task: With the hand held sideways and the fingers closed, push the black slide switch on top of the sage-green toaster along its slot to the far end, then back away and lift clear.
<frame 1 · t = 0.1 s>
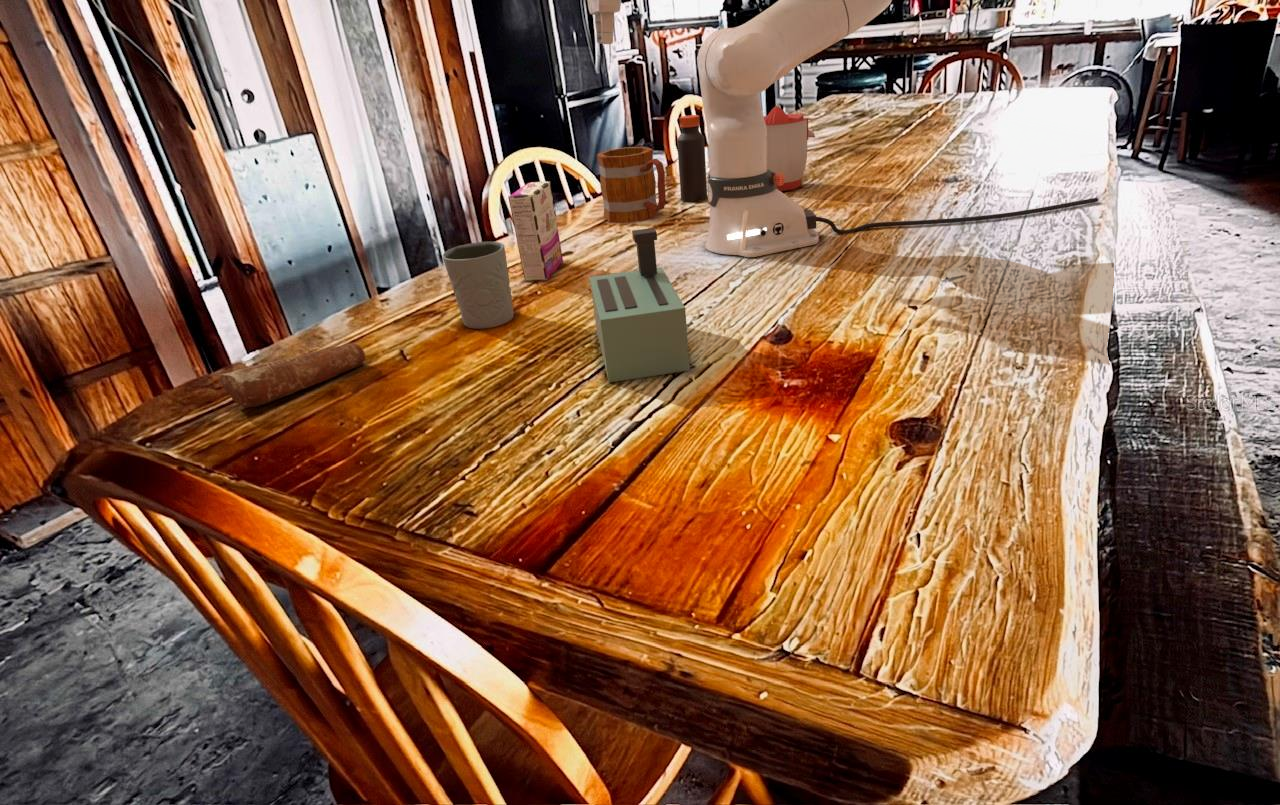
hand: (604, 43, 122), 39 cm above the table, tool pointing down, fingers open, 8 cm apart
candy bar box: (544, 273, 139), on the table
gray embossed cup: (488, 319, 119), on the table
bottle: (694, 199, 182), on the table
bread: (303, 387, 102), on the table
toaster: (640, 350, 102), on the table
slide switch: (646, 252, 101), point 12 cm above the table, slide at 0.0 cm
mug: (639, 217, 171), on the table
citrus juicer: (780, 188, 184), on the table
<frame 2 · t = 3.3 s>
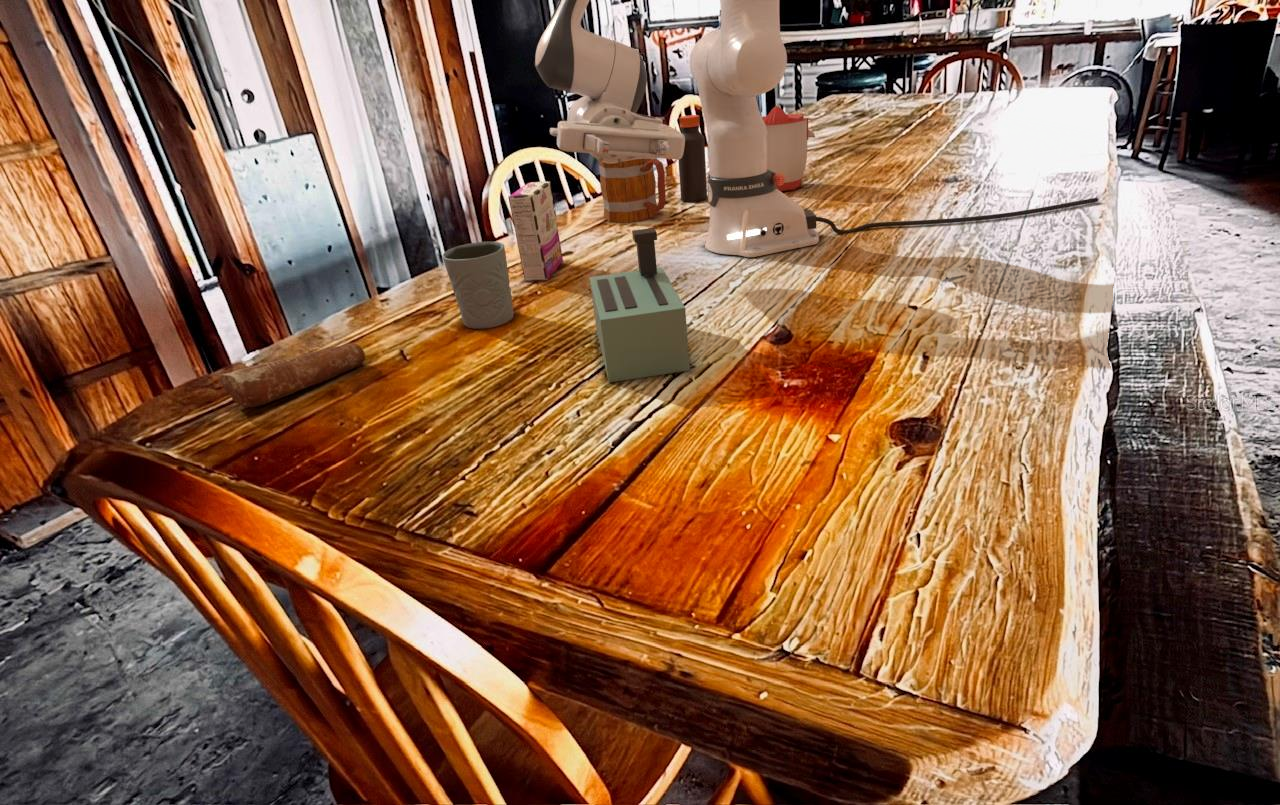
hand: (634, 149, 104), 25 cm above the table, tool horizontal, fingers open, 8 cm apart
nothing on the table moved.
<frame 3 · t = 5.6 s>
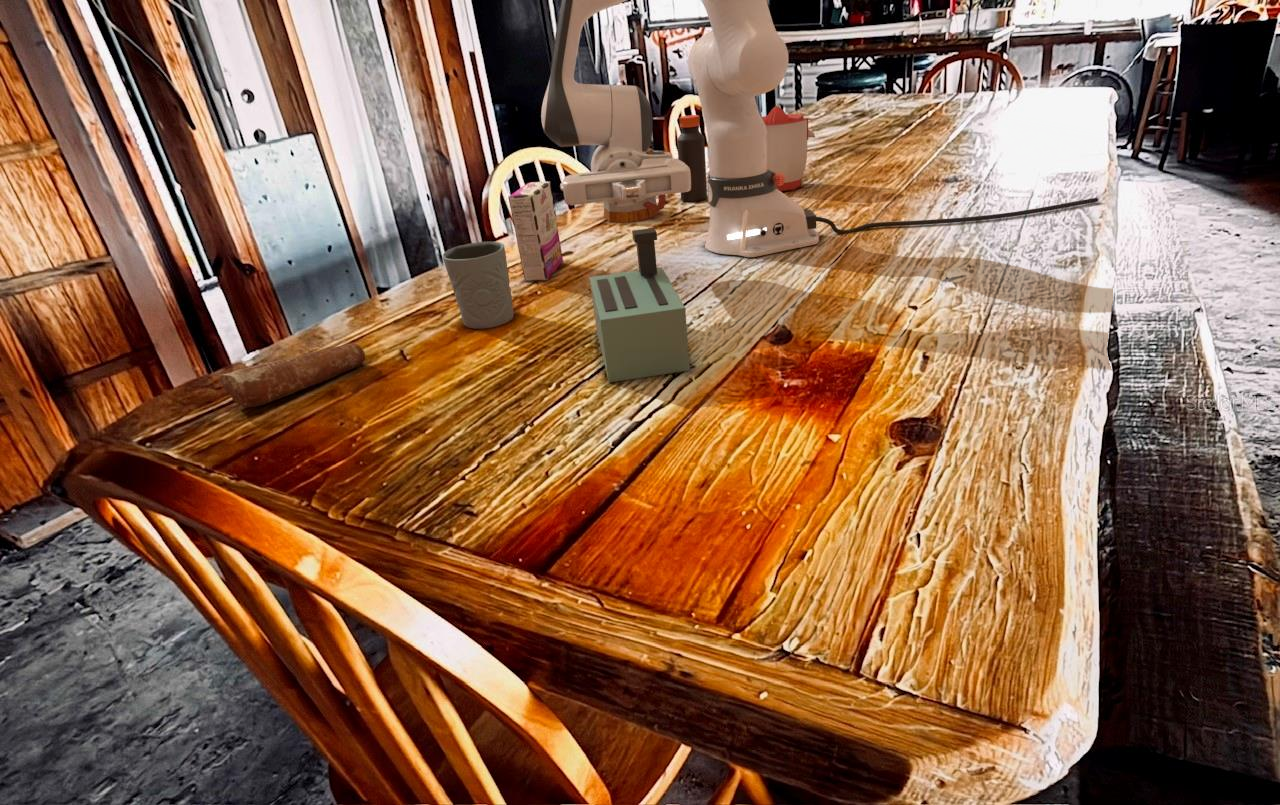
hand: (632, 193, 105), 19 cm above the table, tool horizontal, fingers closed
nothing on the table moved.
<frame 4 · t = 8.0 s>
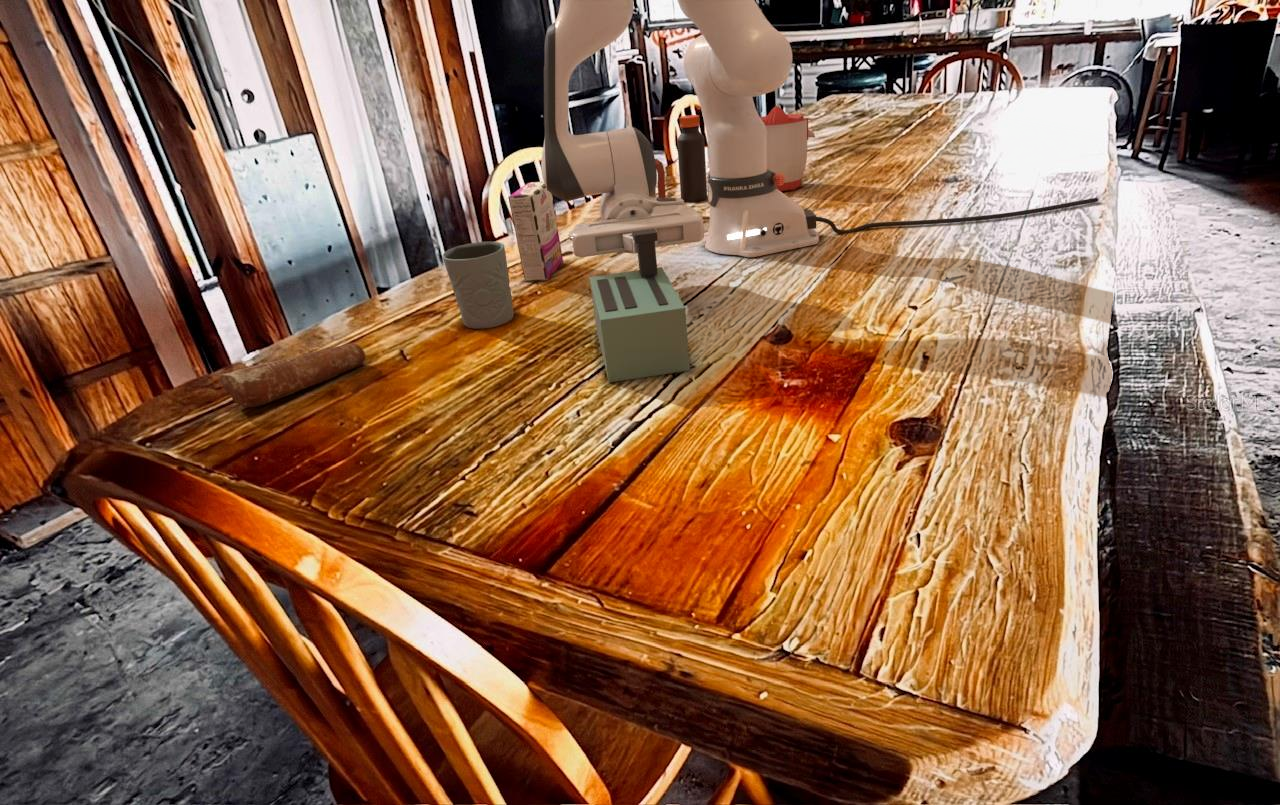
hand: (644, 246, 102), 13 cm above the table, tool horizontal, fingers closed, pressing on slide switch
slide switch: (646, 253, 101), point 12 cm above the table, slide at 0.4 cm, touching gripper
everything else where it was.
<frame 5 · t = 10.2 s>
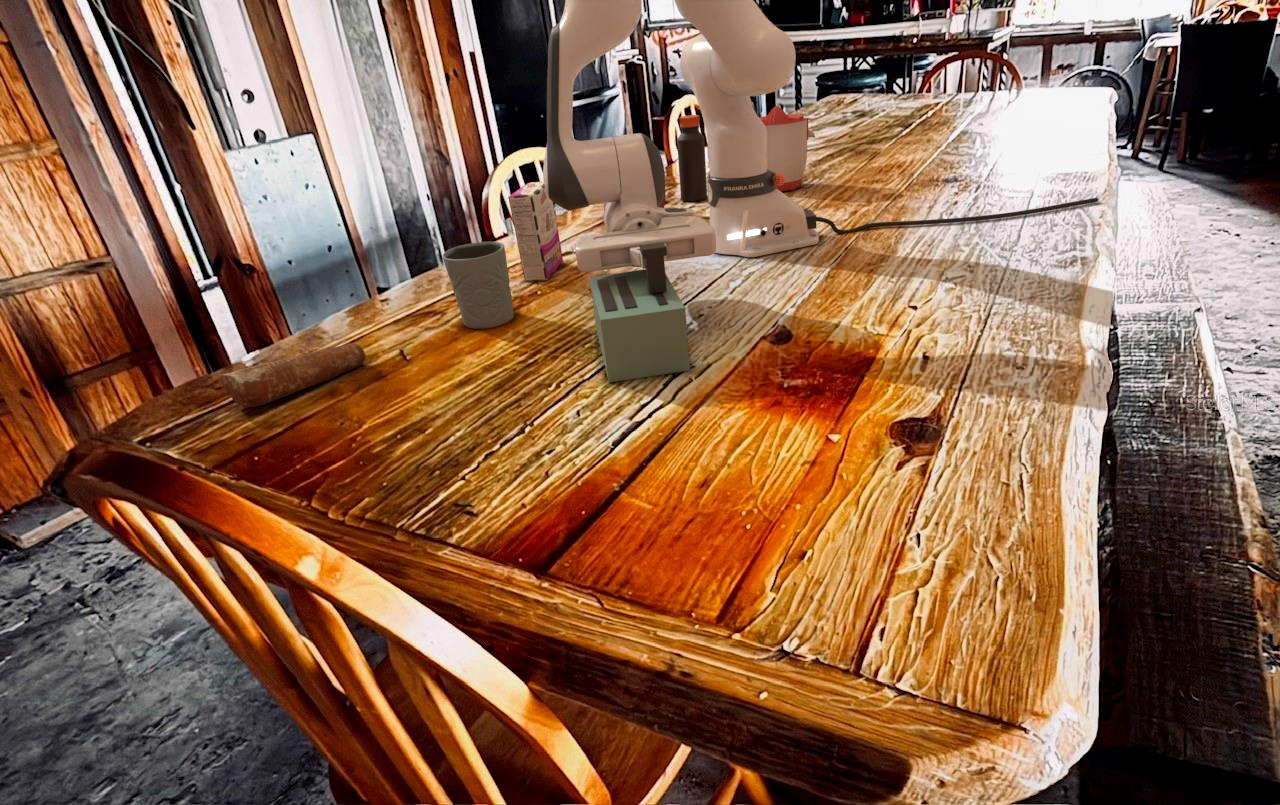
hand: (652, 261, 95), 13 cm above the table, tool horizontal, fingers closed, pressing on slide switch
slide switch: (655, 268, 95), point 12 cm above the table, slide at 7.9 cm, touching gripper
everything else where it was.
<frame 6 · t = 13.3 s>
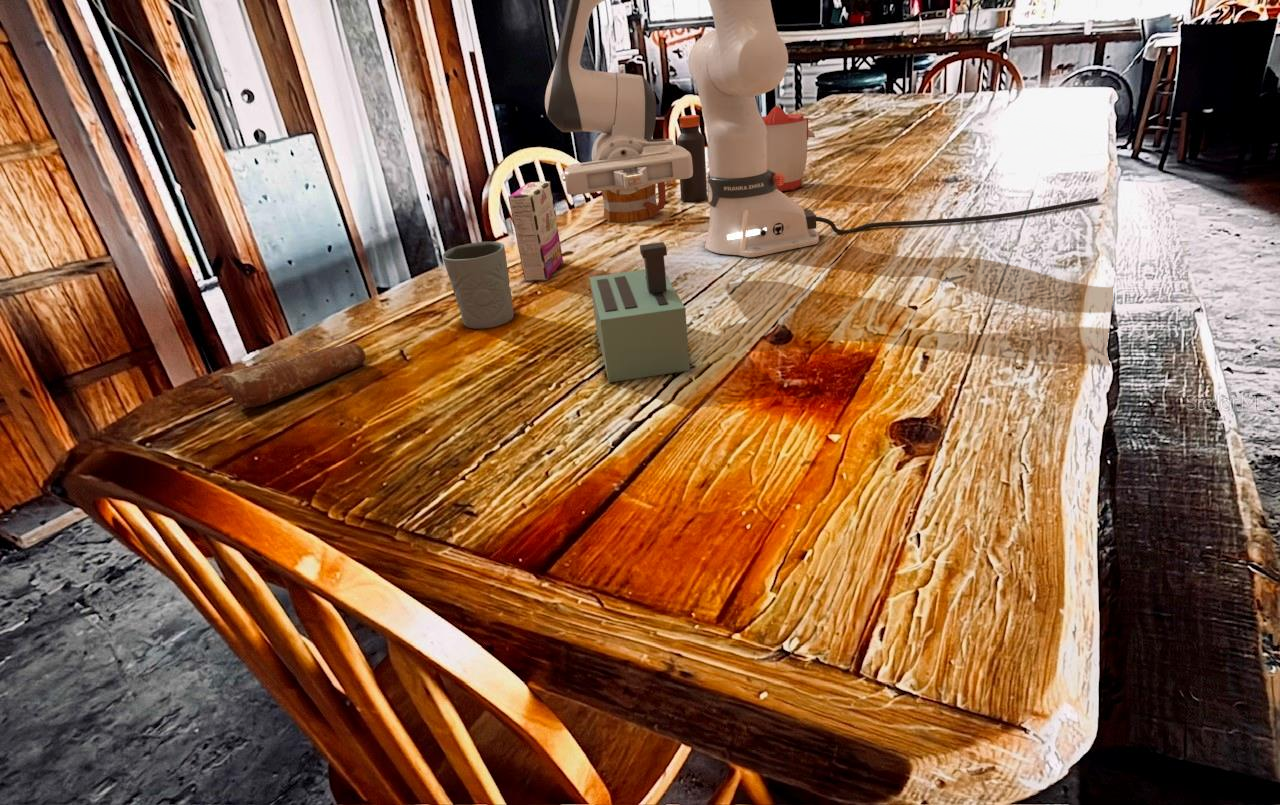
hand: (634, 181, 105), 21 cm above the table, tool horizontal, fingers closed
slide switch: (655, 268, 95), point 12 cm above the table, slide at 7.9 cm
everything else where it was.
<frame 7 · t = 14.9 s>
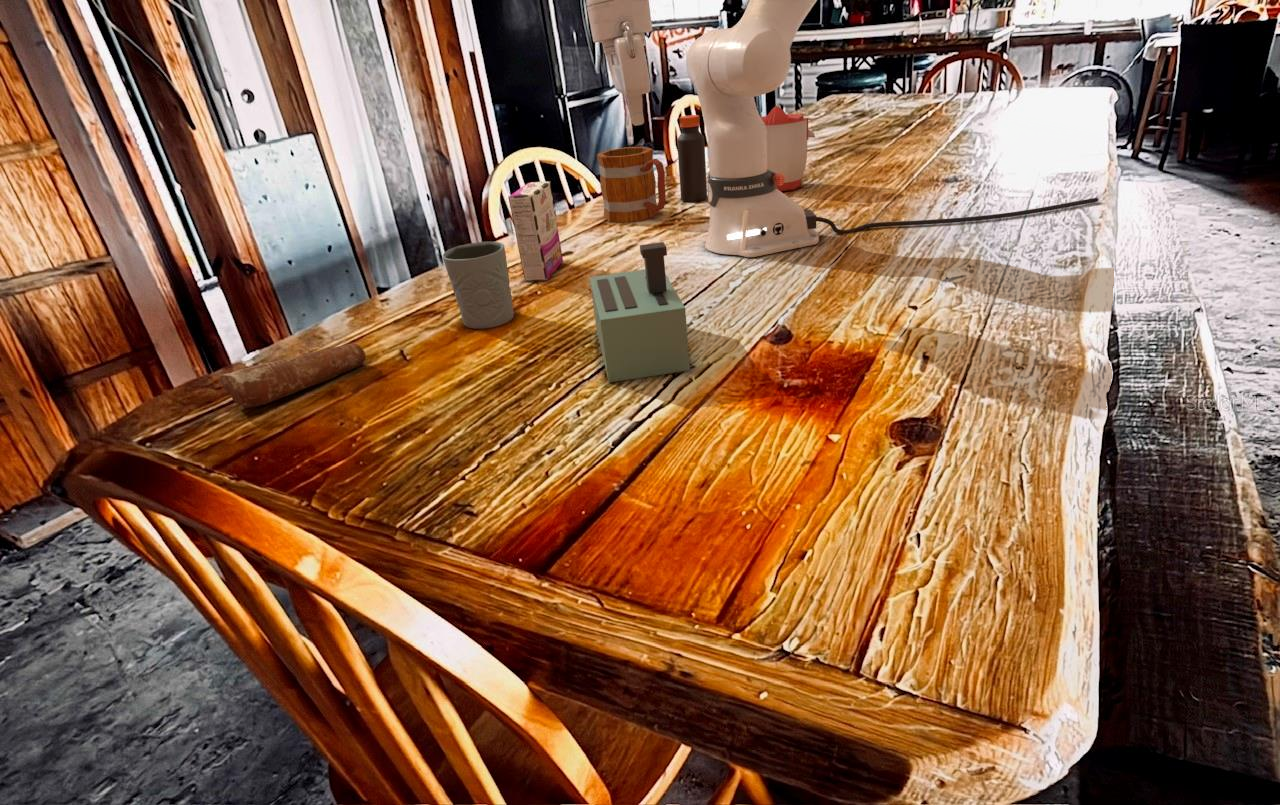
hand: (637, 124, 108), 28 cm above the table, tool pointing down, fingers closed
nothing on the table moved.
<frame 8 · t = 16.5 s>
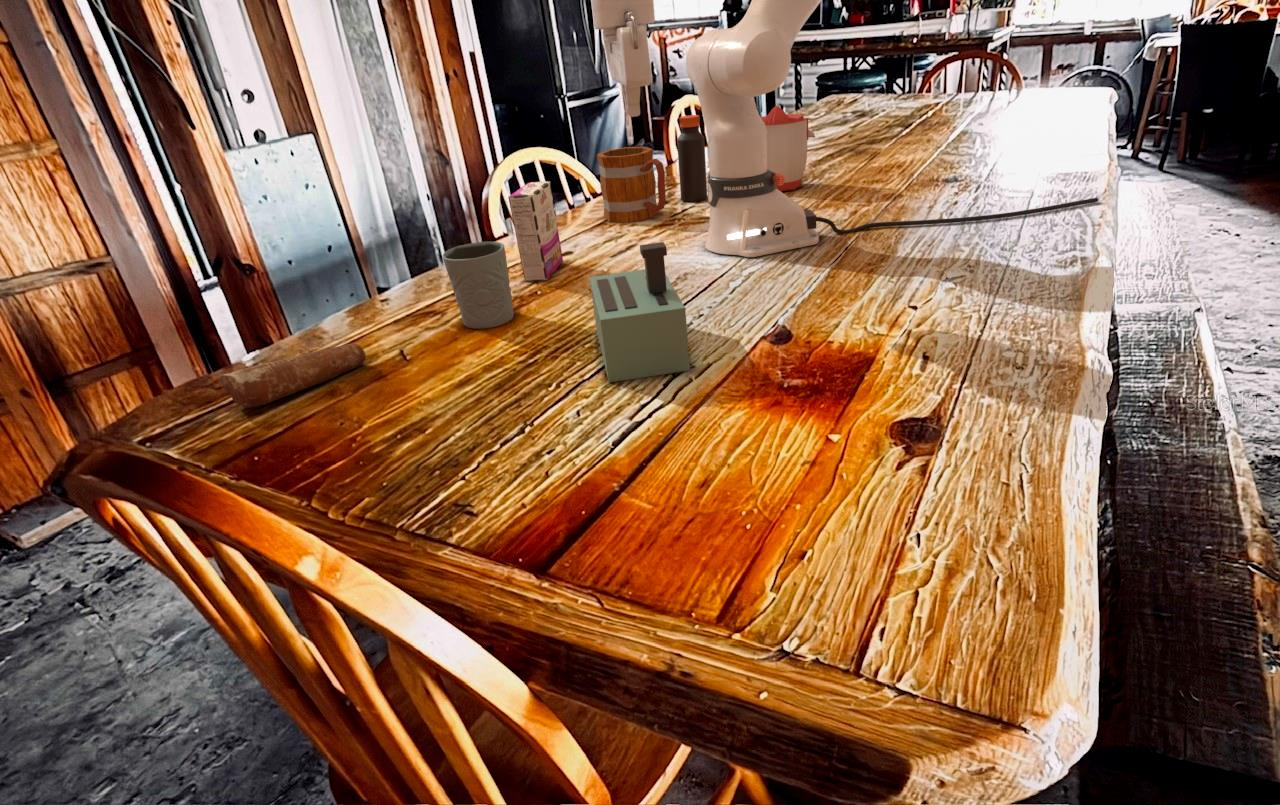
hand: (633, 115, 108), 29 cm above the table, tool pointing down, fingers closed
nothing on the table moved.
at the end: slide switch slide at 7.9 cm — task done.
